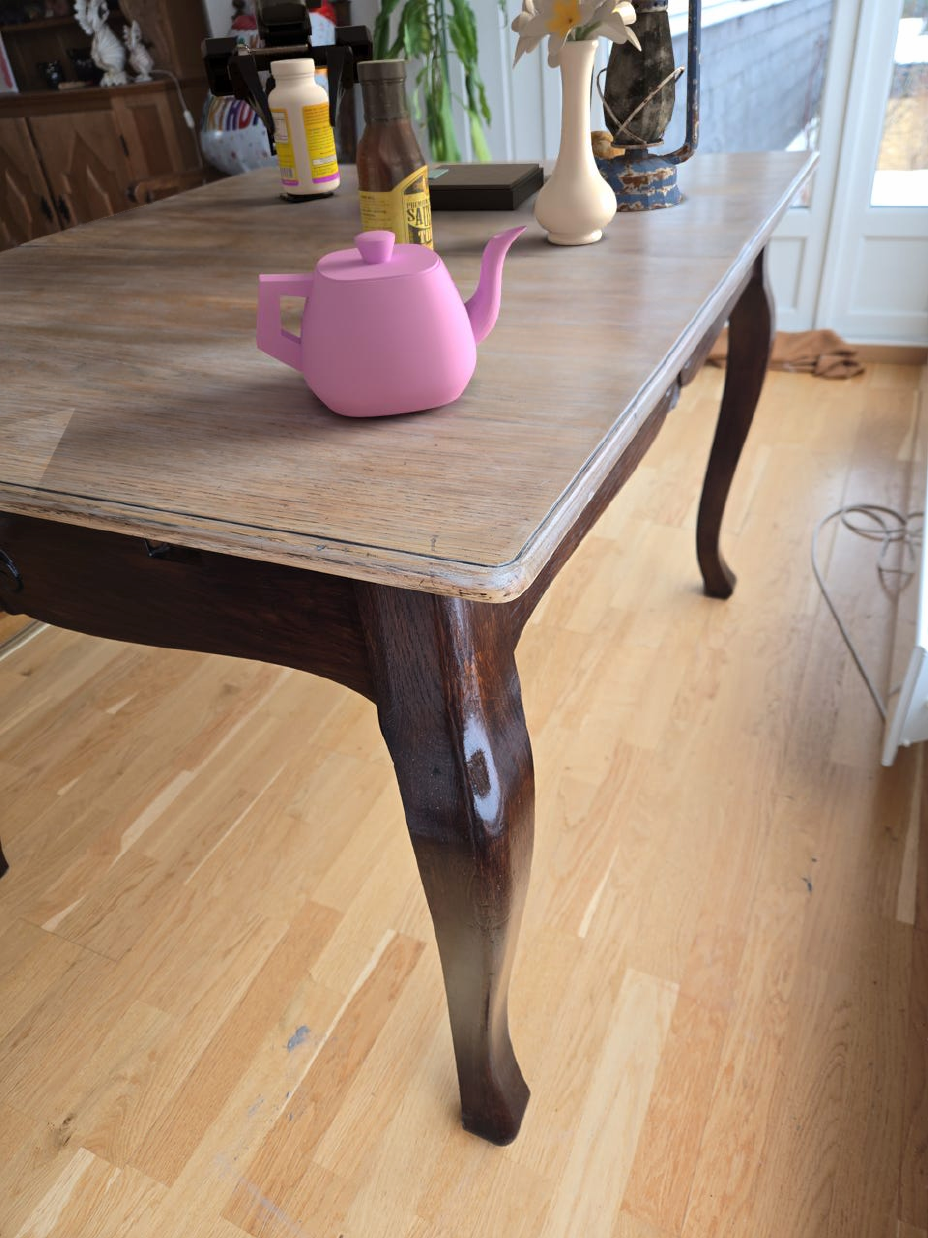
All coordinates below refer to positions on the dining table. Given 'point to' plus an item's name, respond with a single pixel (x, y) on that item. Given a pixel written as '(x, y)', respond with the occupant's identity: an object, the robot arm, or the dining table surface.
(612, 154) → the bread roll
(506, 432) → the dining table surface
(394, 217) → the sauce bottle
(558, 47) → the flower vase
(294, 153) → the supplement bottle
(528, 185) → the kitchen scale
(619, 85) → the lantern
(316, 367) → the teapot
